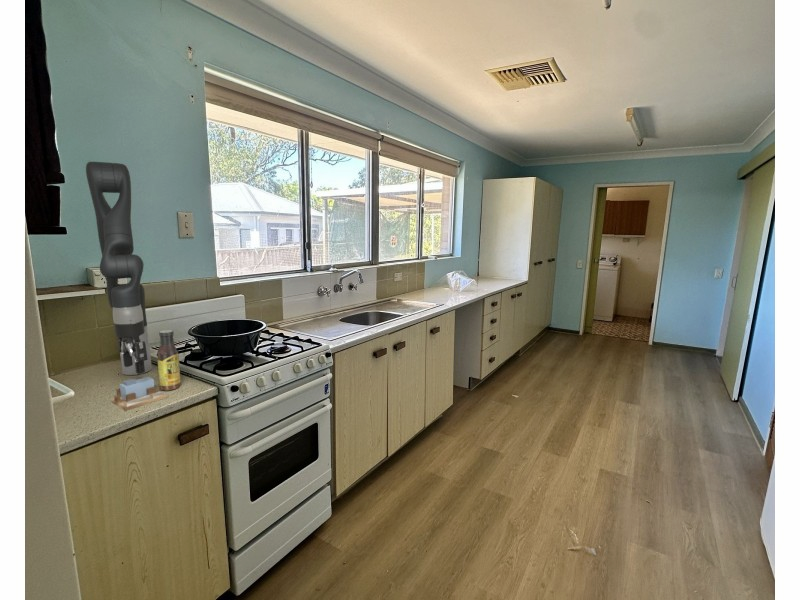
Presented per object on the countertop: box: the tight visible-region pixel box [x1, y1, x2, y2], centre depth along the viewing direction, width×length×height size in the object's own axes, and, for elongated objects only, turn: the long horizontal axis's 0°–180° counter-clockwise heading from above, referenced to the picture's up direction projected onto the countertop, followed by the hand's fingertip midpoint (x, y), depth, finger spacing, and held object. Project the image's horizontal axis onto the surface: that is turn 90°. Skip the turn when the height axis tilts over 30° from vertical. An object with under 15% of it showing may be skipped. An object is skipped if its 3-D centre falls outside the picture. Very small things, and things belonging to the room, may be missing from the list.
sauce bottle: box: [156, 329, 181, 392], centre depth 130 cm, size 6×6×20 cm
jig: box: [109, 384, 167, 412], centre depth 123 cm, size 11×12×4 cm
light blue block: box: [119, 376, 155, 400], centre depth 123 cm, size 4×8×6 cm, turn 146°
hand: (134, 369), depth 122 cm, fingers open, 8 cm apart
